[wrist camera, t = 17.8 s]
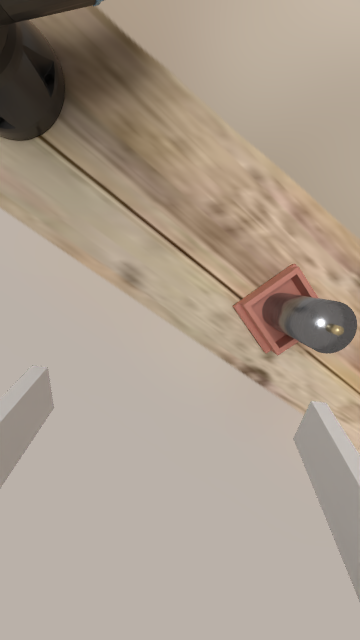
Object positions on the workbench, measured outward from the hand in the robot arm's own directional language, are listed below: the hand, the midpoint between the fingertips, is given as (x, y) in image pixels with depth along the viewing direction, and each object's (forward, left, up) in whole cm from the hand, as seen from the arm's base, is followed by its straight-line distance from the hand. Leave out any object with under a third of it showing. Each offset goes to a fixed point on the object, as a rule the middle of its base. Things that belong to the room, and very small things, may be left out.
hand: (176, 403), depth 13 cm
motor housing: (+9, +14, -30) cm, 34 cm away
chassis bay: (+9, +15, -31) cm, 35 cm away
